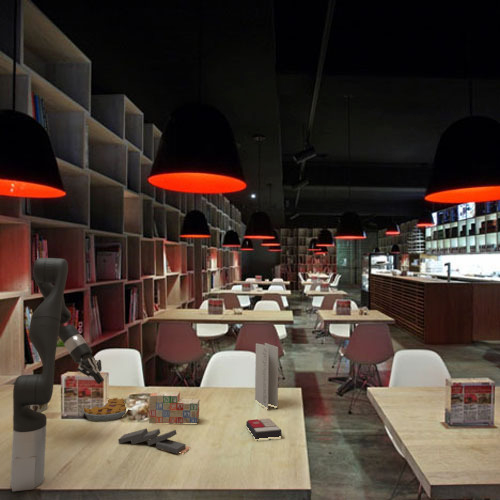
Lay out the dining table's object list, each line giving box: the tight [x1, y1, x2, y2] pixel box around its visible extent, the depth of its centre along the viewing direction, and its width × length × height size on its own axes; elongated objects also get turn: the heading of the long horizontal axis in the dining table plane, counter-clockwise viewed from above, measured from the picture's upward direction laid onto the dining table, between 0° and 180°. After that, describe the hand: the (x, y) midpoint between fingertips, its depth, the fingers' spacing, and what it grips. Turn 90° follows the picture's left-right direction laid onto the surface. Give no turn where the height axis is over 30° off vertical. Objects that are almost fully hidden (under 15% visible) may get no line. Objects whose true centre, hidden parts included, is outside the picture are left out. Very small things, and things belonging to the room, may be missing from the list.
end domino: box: [181, 445, 191, 453], centre depth 152 cm, size 2×5×10 cm
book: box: [245, 418, 282, 439], centre depth 169 cm, size 11×4×15 cm
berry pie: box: [82, 397, 126, 422], centre depth 188 cm, size 22×22×5 cm
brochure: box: [254, 342, 279, 409], centre depth 204 cm, size 14×6×30 cm, turn 25°
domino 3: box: [146, 429, 178, 446], centre depth 155 cm, size 2×5×10 cm
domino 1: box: [117, 427, 149, 445], centre depth 158 cm, size 2×5×10 cm
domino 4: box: [155, 438, 187, 454], centre depth 151 cm, size 2×5×10 cm
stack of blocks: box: [148, 391, 200, 424], centre depth 180 cm, size 21×6×12 cm, turn 87°
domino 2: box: [130, 428, 161, 445], centre depth 157 cm, size 2×5×10 cm
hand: (101, 382), depth 161 cm, fingers closed
